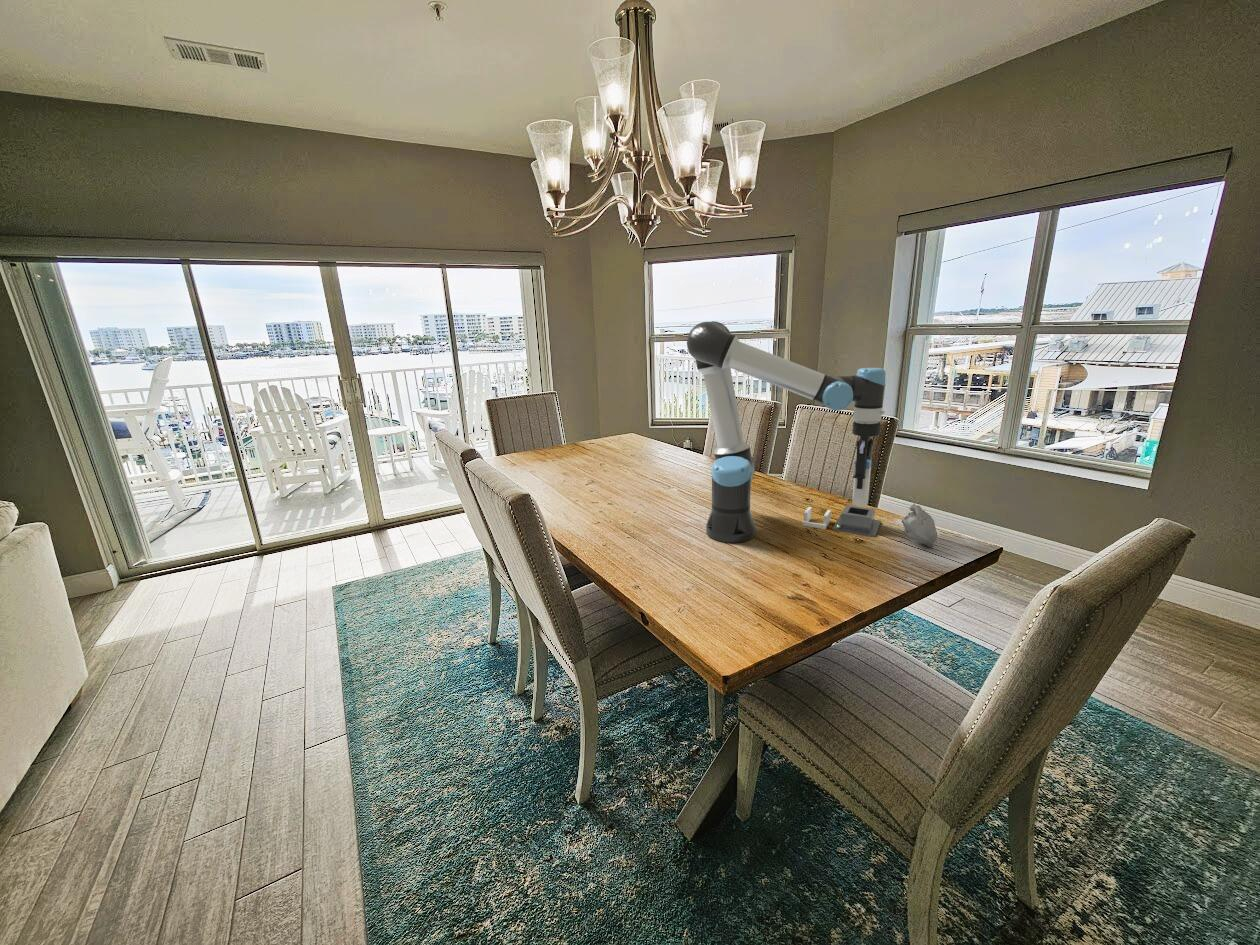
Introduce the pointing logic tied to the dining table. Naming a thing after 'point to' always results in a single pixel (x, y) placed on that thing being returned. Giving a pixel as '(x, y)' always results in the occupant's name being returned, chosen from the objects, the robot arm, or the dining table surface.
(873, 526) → the port panel
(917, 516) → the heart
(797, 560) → the dining table surface
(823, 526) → the holster
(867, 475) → the plug
